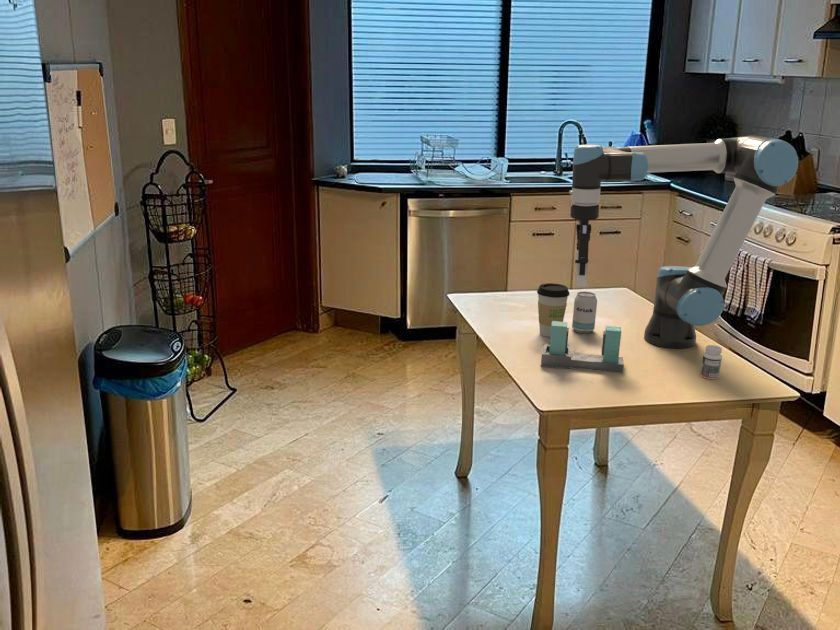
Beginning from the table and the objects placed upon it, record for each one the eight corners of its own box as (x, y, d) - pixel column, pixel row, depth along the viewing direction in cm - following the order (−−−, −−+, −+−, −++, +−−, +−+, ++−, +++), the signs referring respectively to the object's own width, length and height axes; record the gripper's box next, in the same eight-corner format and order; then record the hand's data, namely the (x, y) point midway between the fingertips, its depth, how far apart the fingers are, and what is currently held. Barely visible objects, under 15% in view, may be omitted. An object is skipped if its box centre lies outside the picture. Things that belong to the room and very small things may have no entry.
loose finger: (566, 353, 222) (569, 322, 220) (566, 358, 218) (569, 327, 216) (549, 351, 223) (552, 320, 221) (548, 356, 219) (551, 325, 217)
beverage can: (571, 333, 247) (574, 295, 243) (572, 326, 253) (575, 290, 250) (593, 335, 245) (597, 298, 242) (594, 328, 252) (598, 292, 248)
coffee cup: (565, 340, 240) (569, 292, 236) (532, 337, 242) (536, 289, 237) (566, 330, 249) (570, 284, 245) (534, 327, 251) (538, 281, 247)
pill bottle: (704, 371, 218) (708, 343, 216) (721, 376, 215) (725, 347, 213) (697, 376, 215) (701, 347, 212) (715, 381, 212) (719, 351, 209)
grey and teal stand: (621, 364, 222) (626, 325, 219) (622, 374, 215) (627, 334, 211) (542, 356, 226) (545, 318, 223) (540, 366, 219) (544, 326, 215)
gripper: (570, 195, 227) (566, 268, 233) (571, 211, 203) (567, 291, 210) (597, 196, 225) (592, 269, 232) (601, 212, 202) (596, 292, 208)
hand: (580, 279), depth 221 cm, fingers open, 13 cm apart
